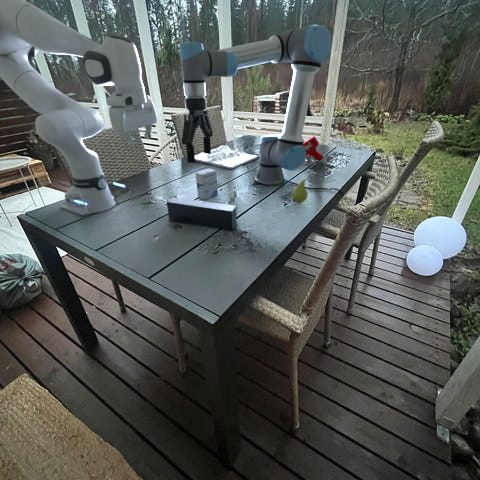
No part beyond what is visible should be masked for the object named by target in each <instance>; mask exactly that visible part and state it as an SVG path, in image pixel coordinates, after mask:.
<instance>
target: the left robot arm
mask: <svg viewBox="0 0 480 480" xmlns="http://www.w3.org/2000/svg"><path fill="white" fill-rule="evenodd" d="M38 51H42V52H44V53H48V54H52V55H53V54H54V55H65V56H66V55H67V56H68V55H69V56H75V57H81V58H82V62H81V63H82V69H83V72H84V74H85V76H86V78H87V79H88V80H89V81H90V82H91V83H92V84H94V85H97V86H101V87H104V86H114V89H115V90H114V92H113V93H112V94H111V95H109V96H108V97H107V98H106V99H105V102H106V105H107V106H108V107H109V108H108V116H109V120H110V124H111V128H112V130H113V131H114V132H115V133H116V134H118V133H119V134H123V136H124V137H125V139H126V141H127V144H128V145H129V146H135V145H136V140H135V138H133V137H132V131H136V130H139V129H141V128H144V129H145V131H144V132H145V133H143V134H144V135H143V136H144V139H146V140H151V139H152V130H153V126H152V125H155V124H157V123H158V116H157V112H156V107H155V104H154V102H153V99H152V98H151V97H150V96H149V95H146V91H145V85H144V83H143V79H142V65H141V61H140V57H139V53H138V50H137V47H136V44H135V42H134V40H132V39H130V38H129V37H126V36H121V35H120V36H119V35H115V34H109V35H106V37H105V39H104V40H103V42H102V43H100V42H97V41H96V40H94V39H92V38H90V37H88V36H86V35H85V34H83V33H81V32H78V31H77V30H75V29H74V28H72V27H71V26H68V25H67V24H65V23H64V22H62V21H61V20H59V19H57V18H55V17H54V16H53V15H51V14H49V13H47V12H46V11H44V10H43V9H41V8H40V7H38V6H36V5H34V4H32V3H31V2H28V1H26V0H0V78H1V79H2V80H3V82H4V83H5V84H6V85H7V86H8V87H9V88H10V89H11V90H12V91H13V93H14V94H16V95H17V96H18V97H19V98H20V99H21V100H22V101H24V103H26V104H27V106H29V107H30V108H31V109H32V110H33V111H35V112H37V113H39V114H40V115H38V116H37V117H36V118H35V121H34V126H35V130H36V133H37V134H38V136H39V137H40V138H41V139H42V140H43V141H44V142H46V144H49V145H51V146H53V147H54V148H56V149H57V150H58V151H59V152H60V153H61V154H62V156H63V157H64V158H65V161H66V163H67V165H68V167H69V170H70V173H71V175H72V176H71V177H69V178H68V180H69V182H71V186H70V187H69V188H68V190H67V191H66V192H65V193H64V199H65V202H64V203H62V205H61V209H62V210H65V211H67V212H70V213H73V214H76V215H79V216H87V215H90V214H91V215H92V214H96V213H102V212H106V211H108V210H110V209H112V208H114V206H115V205H116V201H115V197H114V195H112V192H111V189H110V187H109V185H108V183H107V178H106V174H105V173H104V171H103V168H102V166H101V162H100V158H99V156H98V153H96V152H95V151H93V150H92V149H88V148H87V146H86V145H85V143H84V142H83V140H85V139H88V138H91V137H95V136H96V135H98V134H99V133H100V132H102V130H103V129H104V120H103V117H102V116H101V113H99V111H98V110H97V109H95V108H93V107H90V106H87V105H85V104H82V103H81V102H78V101H77V100H75V99H73V98H71V97H70V96H67V95H66V94H65V93H63V92H61V91H60V90H58V89H57V88H56V87H55V86H54V85H52V84H51V83H50V82H49V81H48V80H47V79H46V78H45V77H44V76H43V75H42V74H41V73H40V72H39V71H37V69H35V68H34V67H33V66H32V65H31V63H30V62H32V61H35V59H36V55H37V54H38ZM113 185H115V186H117V187H118V186H119V187H122V188H126V185H125V184H122V183H118V182H113Z"/></svg>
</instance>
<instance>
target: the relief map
mask: <svg viewBox="0 0 480 480" xmlns="http://www.w3.org/2000/svg"><path fill="white" fill-rule="evenodd" d="M194 155H195V154H194ZM256 159H258V155H256V154H249V153H246V152H245V151H244V149H242V148H238V149H235V150H233V149H231V148H230V147H229V146H228V145H227V144H225V145H224V144H221V145H220V146H219V147H216V148H213V149H211V154H206V153H204V151H203V152H202V151H201V152H200V153H198V154H196V155H195V162H201V163H204V164H209V165H214V166H217V167H222V168H226V169H230V170H233V169H235V168H237V167H240V166H241V165H244V164H247V163H250V162H252V161H254V160H256Z"/></svg>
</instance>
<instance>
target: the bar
mask: <svg viewBox="0 0 480 480" xmlns="http://www.w3.org/2000/svg"><path fill="white" fill-rule="evenodd" d="M166 207H167V212H168V213H167V214H168V220H169V222H174V223H179V224H186V225H191V226H197V227H198V226H199V227H205V228H208V229H209V228H210V229H217V230H222V231H228V232H233V231H234V230H235V229H236V227H237V206H236V205H231V204H224V203H216V202H210V201H202V200H196V199H188V198H181V197H174V196H172V197H171V198H170V199H168V200H167V201H166Z"/></svg>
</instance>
